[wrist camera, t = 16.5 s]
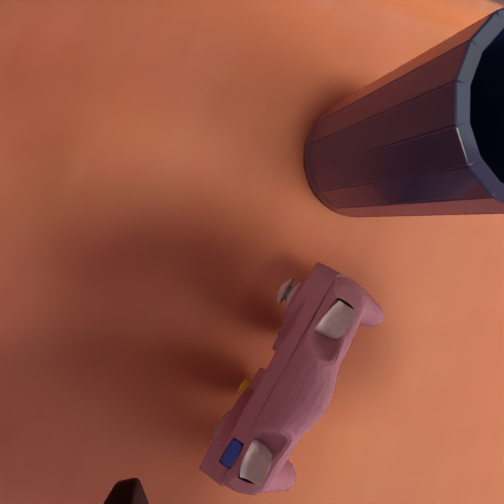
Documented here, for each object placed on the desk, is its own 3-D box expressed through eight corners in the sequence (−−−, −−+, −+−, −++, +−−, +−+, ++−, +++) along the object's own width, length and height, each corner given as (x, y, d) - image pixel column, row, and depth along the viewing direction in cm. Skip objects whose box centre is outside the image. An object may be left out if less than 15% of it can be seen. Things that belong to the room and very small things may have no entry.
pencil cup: (328, 235, 21) (493, 245, 11) (285, 125, 20) (426, 37, 11) (420, 191, 22) (638, 167, 13) (384, 85, 21) (590, -27, 12)
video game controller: (305, 263, 22) (302, 236, 16) (385, 308, 22) (420, 299, 15) (208, 434, 22) (161, 483, 15) (287, 487, 21) (276, 567, 14)
